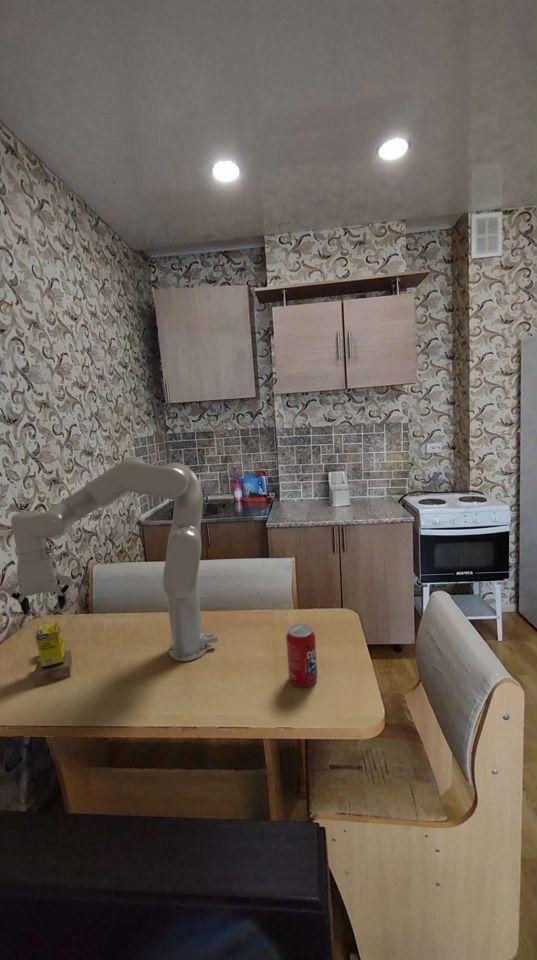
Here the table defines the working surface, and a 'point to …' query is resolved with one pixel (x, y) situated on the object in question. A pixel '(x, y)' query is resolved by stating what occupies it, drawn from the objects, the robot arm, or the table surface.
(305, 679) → the soda can
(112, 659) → the table surface
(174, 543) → the robot arm
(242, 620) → the table surface
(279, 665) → the table surface
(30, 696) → the table surface
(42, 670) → the base block
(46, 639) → the supplement box
